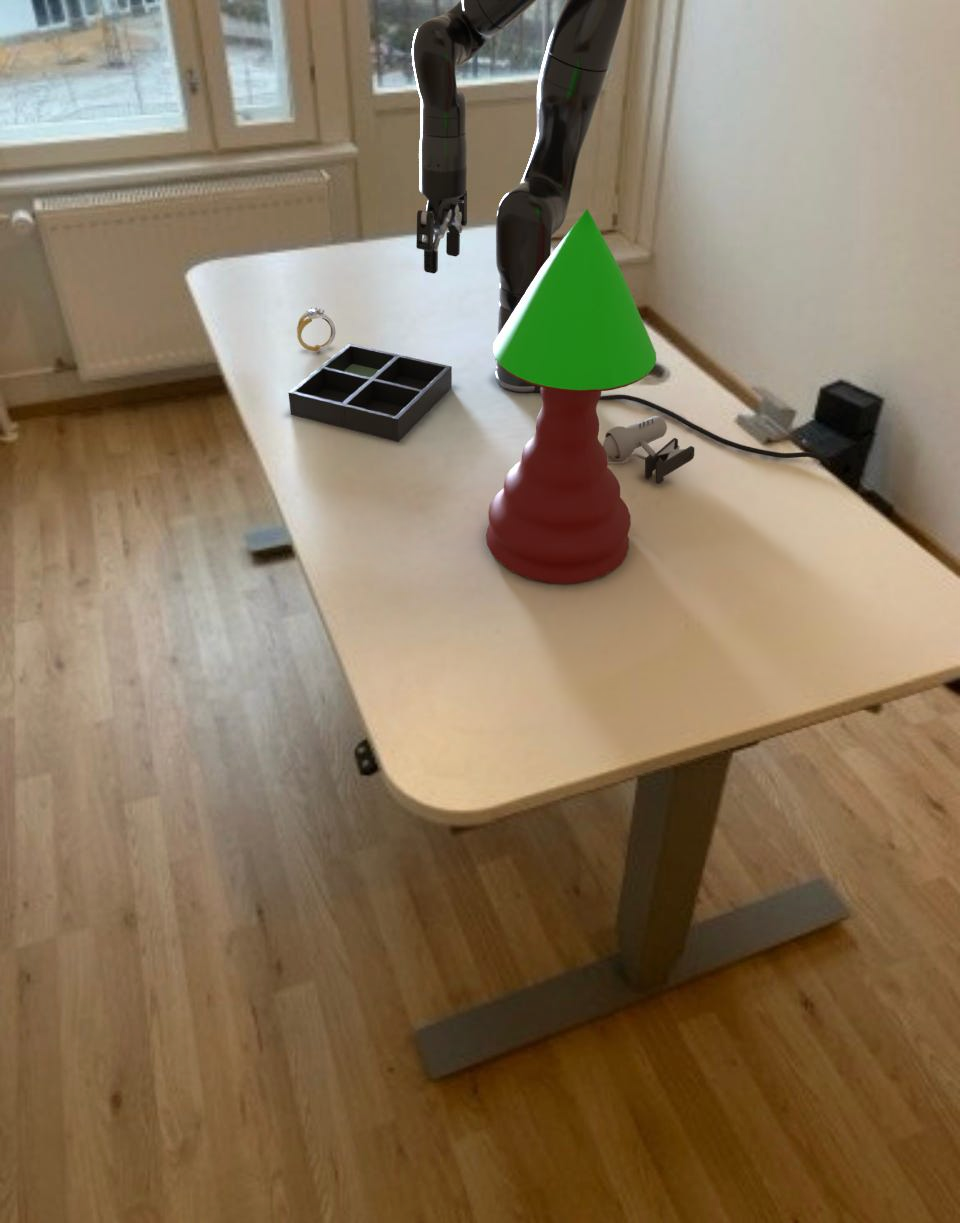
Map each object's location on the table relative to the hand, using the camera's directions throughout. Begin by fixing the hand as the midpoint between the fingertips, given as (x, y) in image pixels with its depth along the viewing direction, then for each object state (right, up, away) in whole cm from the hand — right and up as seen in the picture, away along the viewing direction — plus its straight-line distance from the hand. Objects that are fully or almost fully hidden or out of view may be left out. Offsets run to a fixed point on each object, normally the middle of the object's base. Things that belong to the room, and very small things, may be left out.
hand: (442, 263), depth 163 cm
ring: (-23, -11, +14) cm, 29 cm away
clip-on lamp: (+29, -37, -14) cm, 49 cm away
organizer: (-12, -23, 0) cm, 26 cm away
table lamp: (+17, -49, -29) cm, 60 cm away
